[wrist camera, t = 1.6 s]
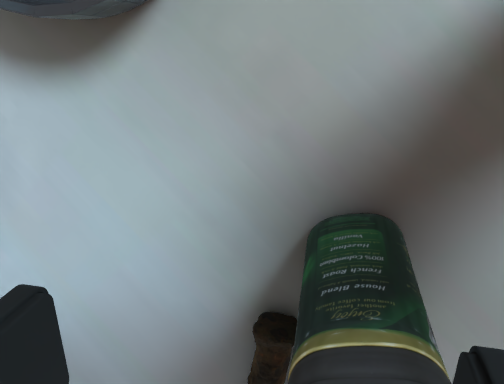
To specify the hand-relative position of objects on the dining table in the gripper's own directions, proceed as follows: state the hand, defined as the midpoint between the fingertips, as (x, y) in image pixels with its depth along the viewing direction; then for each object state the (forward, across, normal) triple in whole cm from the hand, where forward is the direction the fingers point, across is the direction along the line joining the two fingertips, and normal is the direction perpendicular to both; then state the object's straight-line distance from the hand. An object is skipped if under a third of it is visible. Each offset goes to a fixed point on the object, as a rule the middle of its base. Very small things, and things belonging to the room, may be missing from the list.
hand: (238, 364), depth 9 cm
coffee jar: (+23, -4, +11) cm, 26 cm away
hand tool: (+23, +2, +26) cm, 35 cm away
